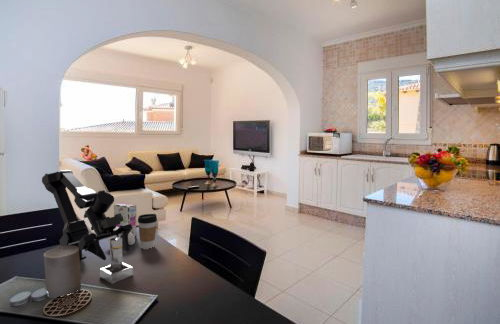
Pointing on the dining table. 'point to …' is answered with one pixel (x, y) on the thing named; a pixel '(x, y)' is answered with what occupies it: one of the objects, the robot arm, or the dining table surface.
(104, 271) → the white square flat box
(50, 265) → the pillar candle
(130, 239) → the white knot sculpture
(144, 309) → the dining table surface
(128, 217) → the candy bar box
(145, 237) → the coffee cup
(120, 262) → the tube
